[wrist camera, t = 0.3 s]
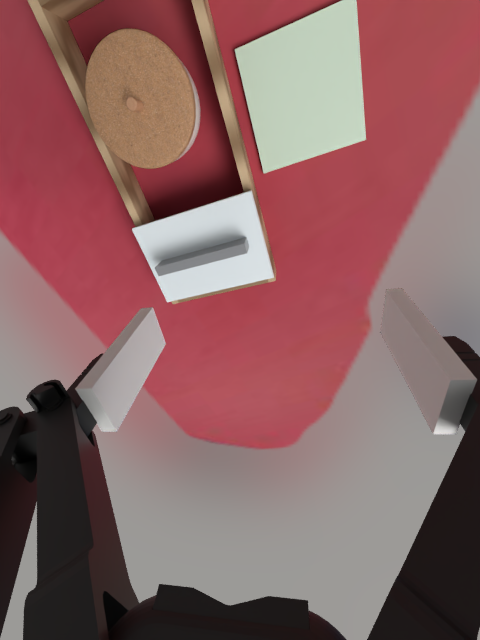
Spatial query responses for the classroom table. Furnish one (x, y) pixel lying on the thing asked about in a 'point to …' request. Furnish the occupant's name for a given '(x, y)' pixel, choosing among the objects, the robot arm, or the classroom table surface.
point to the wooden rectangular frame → (52, 15)
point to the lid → (206, 248)
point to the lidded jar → (141, 99)
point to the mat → (305, 86)
